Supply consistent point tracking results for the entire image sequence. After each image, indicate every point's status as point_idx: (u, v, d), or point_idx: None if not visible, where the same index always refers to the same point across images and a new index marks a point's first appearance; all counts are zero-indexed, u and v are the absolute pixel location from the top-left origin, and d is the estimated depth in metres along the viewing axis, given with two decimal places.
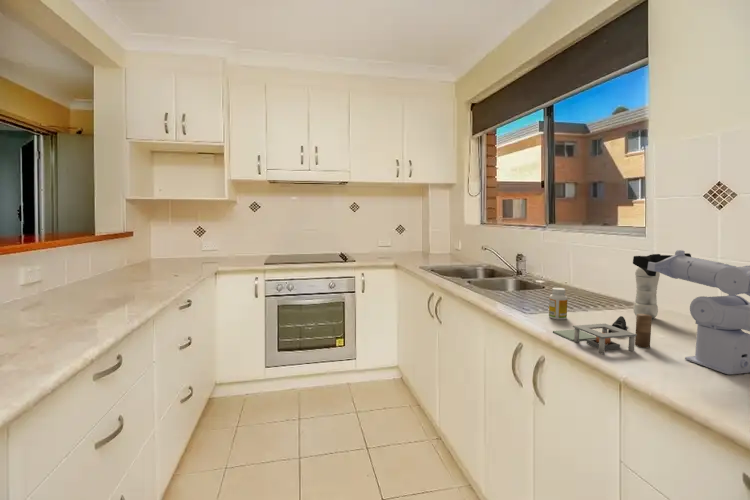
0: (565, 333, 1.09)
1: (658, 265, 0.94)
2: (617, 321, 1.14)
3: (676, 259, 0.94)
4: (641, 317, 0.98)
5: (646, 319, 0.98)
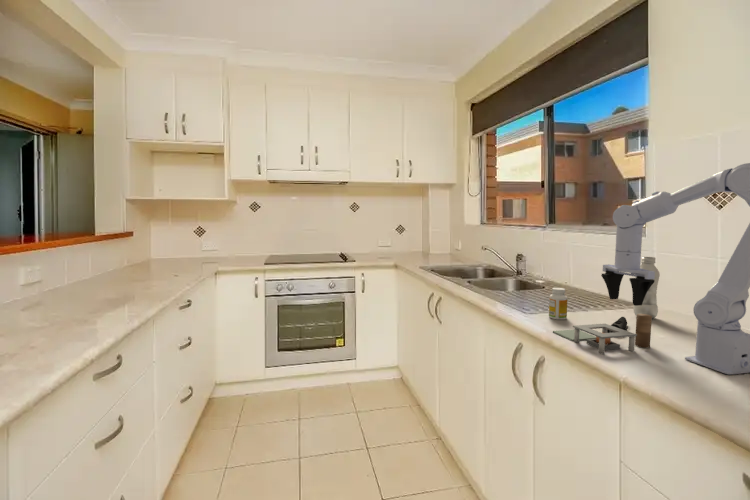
0: (565, 333, 1.09)
1: None
2: (617, 321, 1.14)
3: (626, 266, 1.00)
4: (641, 317, 0.98)
5: (646, 319, 0.98)
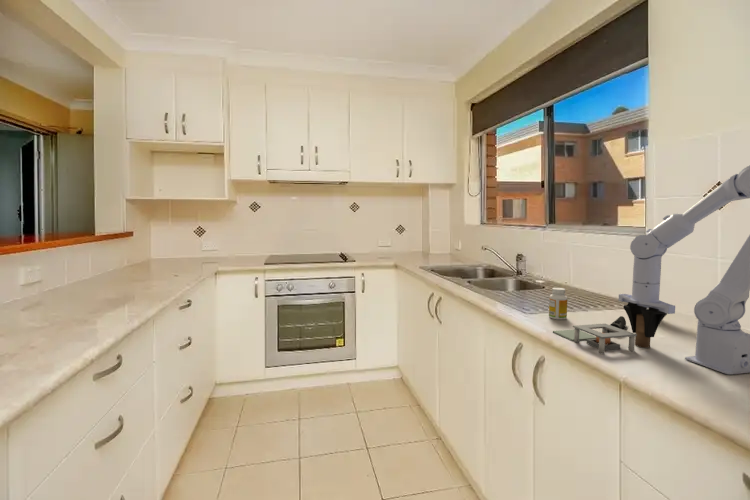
0: (565, 333, 1.09)
1: None
2: (616, 321, 1.14)
3: (645, 299, 0.96)
4: (641, 317, 0.98)
5: None
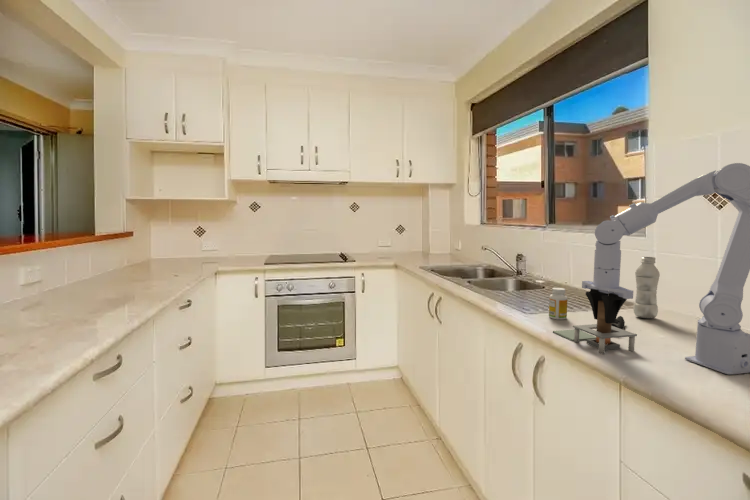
0: (565, 333, 1.09)
1: None
2: None
3: (605, 285, 0.96)
4: (602, 303, 0.98)
5: None
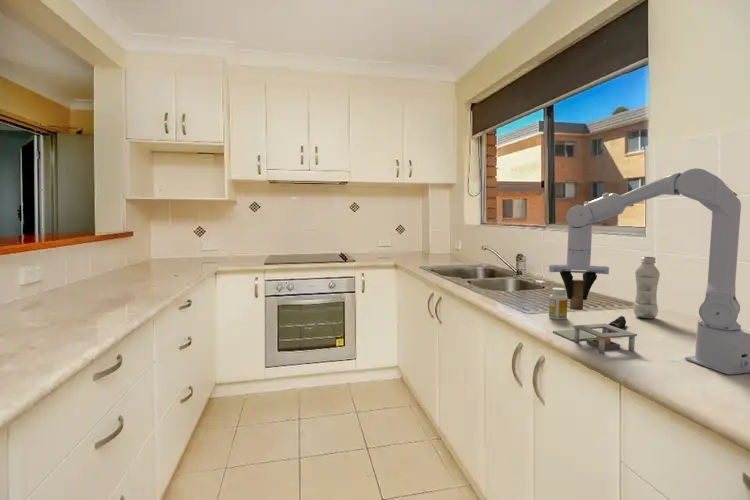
0: (565, 333, 1.09)
1: None
2: (615, 320, 1.14)
3: (588, 265, 1.04)
4: (581, 282, 1.05)
5: (583, 283, 1.06)
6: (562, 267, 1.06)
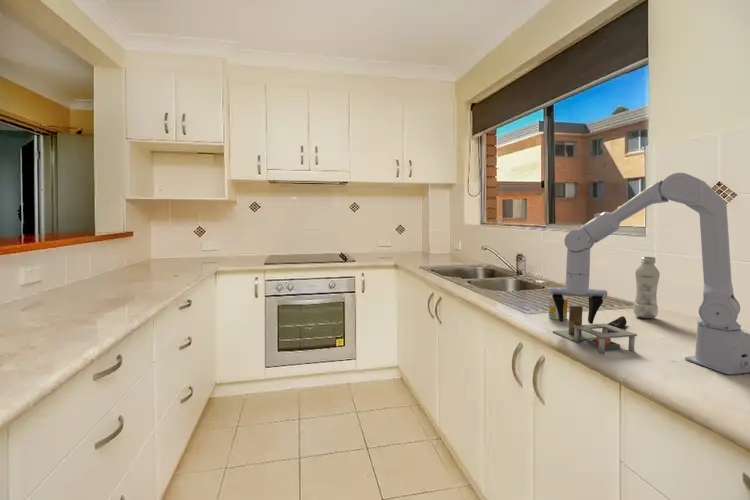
0: (565, 333, 1.09)
1: None
2: (614, 320, 1.15)
3: (586, 289, 1.05)
4: (579, 308, 1.06)
5: (581, 309, 1.07)
6: (561, 291, 1.07)
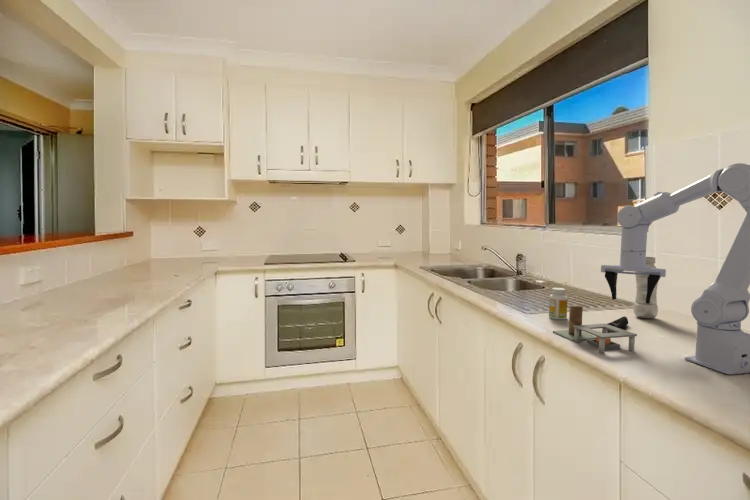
0: (565, 333, 1.09)
1: None
2: (615, 320, 1.15)
3: (640, 266, 1.02)
4: (579, 308, 1.06)
5: (582, 309, 1.07)
6: (612, 267, 1.06)
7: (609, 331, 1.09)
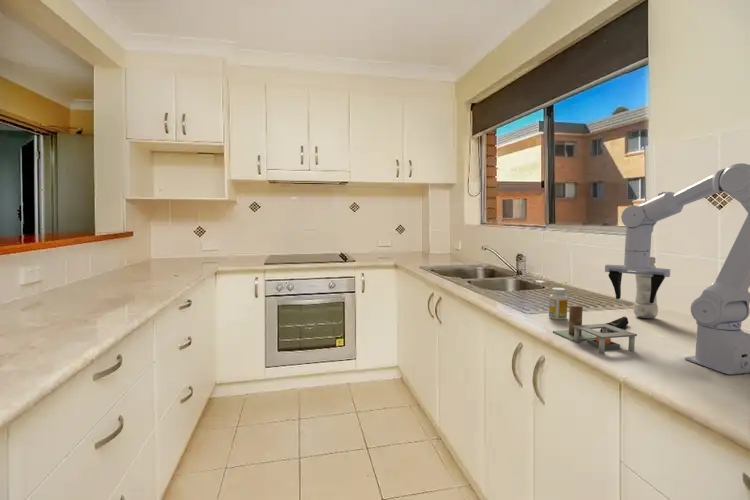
0: (565, 333, 1.09)
1: None
2: (615, 320, 1.15)
3: (643, 266, 1.02)
4: (579, 308, 1.06)
5: (582, 309, 1.07)
6: (616, 267, 1.06)
7: (607, 331, 1.10)
